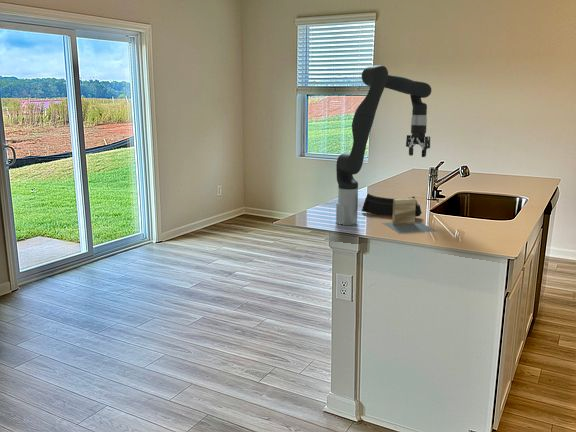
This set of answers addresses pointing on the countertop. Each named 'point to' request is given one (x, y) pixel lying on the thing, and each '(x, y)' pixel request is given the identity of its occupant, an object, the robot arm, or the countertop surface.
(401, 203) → the oak tile
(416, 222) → the rubber mat
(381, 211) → the magazine
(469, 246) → the countertop surface
